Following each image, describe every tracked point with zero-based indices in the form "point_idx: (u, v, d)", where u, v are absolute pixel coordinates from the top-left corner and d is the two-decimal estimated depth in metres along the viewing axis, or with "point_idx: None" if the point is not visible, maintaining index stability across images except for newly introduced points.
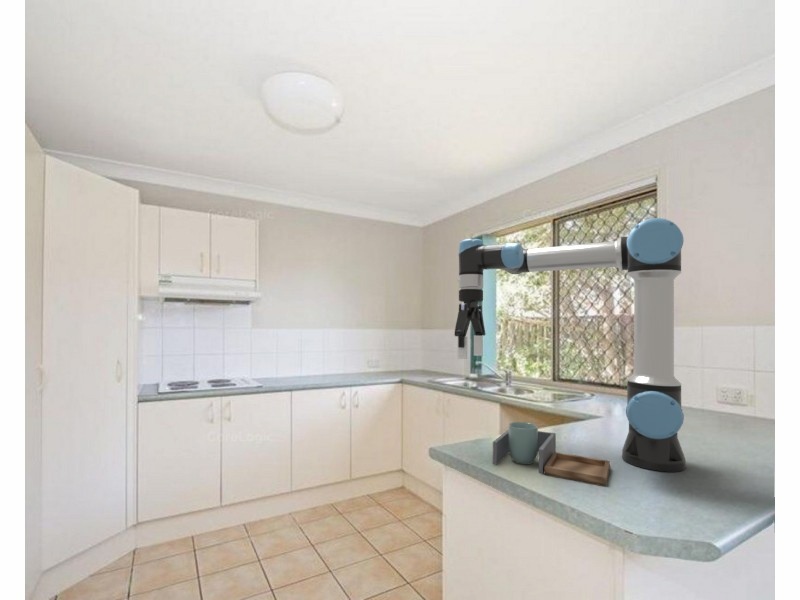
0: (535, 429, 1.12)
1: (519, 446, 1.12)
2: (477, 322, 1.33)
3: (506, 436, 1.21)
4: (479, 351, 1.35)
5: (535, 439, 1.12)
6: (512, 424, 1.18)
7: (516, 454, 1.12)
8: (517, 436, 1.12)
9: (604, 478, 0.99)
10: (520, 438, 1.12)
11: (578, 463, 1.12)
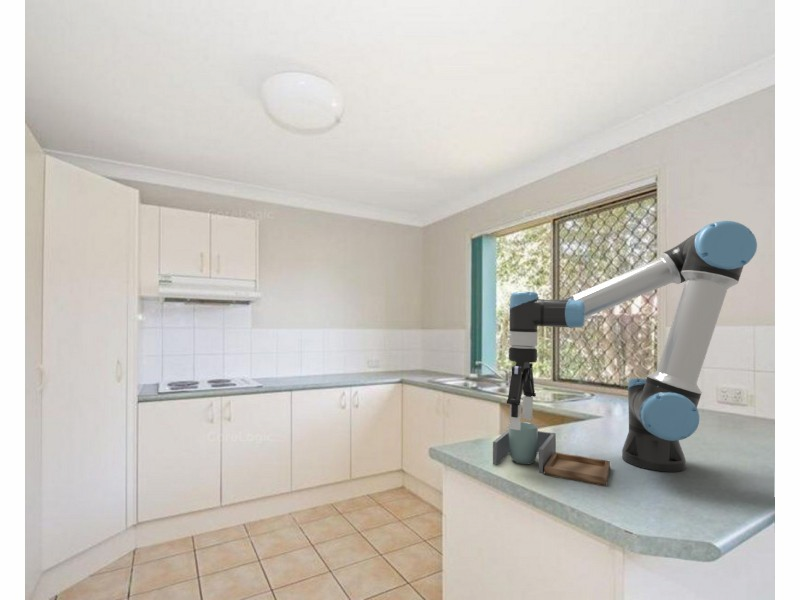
0: (535, 429, 1.12)
1: (519, 446, 1.12)
2: (528, 383, 1.19)
3: (506, 436, 1.21)
4: (529, 414, 1.21)
5: (535, 439, 1.12)
6: None
7: (516, 454, 1.12)
8: (517, 436, 1.12)
9: (604, 478, 0.99)
10: (520, 438, 1.12)
11: (578, 463, 1.12)
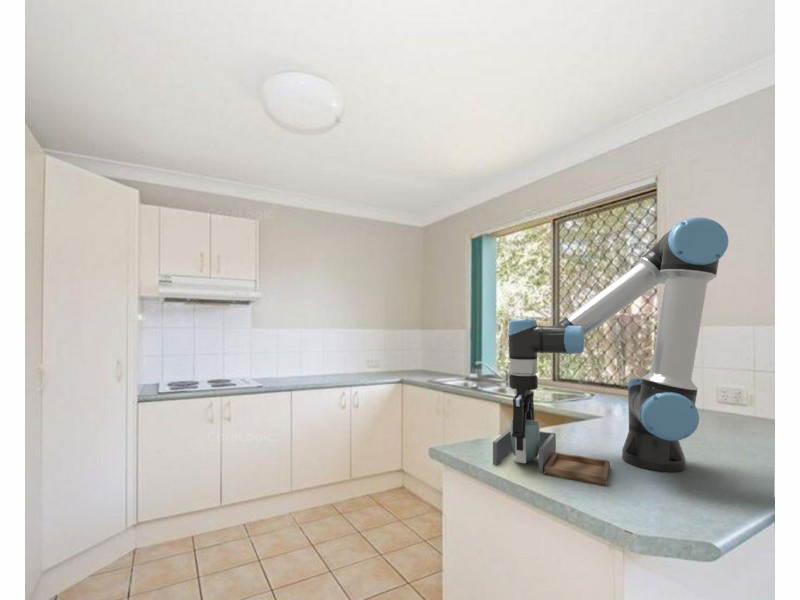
0: (536, 426, 1.12)
1: None
2: (529, 412, 1.17)
3: (506, 436, 1.21)
4: None
5: (537, 435, 1.12)
6: None
7: None
8: None
9: (604, 478, 0.99)
10: None
11: (578, 463, 1.12)
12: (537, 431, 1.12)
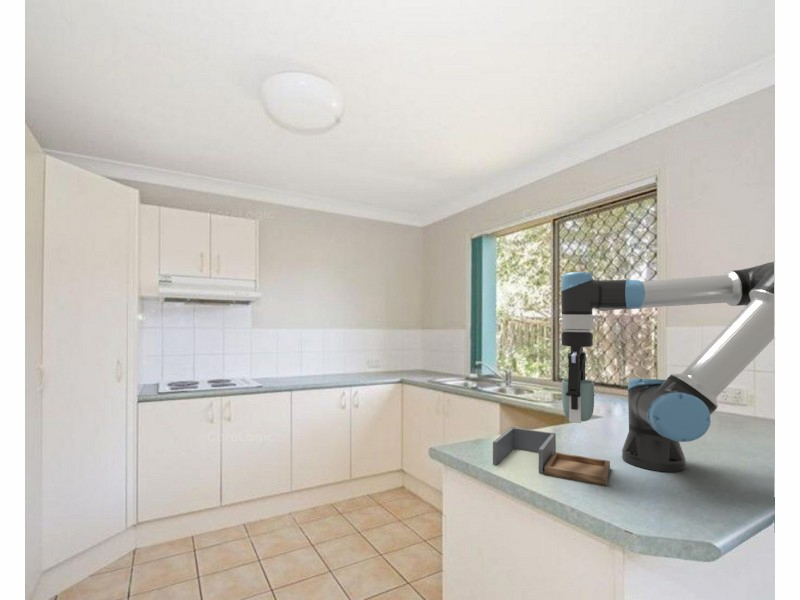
0: (592, 384, 1.06)
1: None
2: (581, 372, 1.11)
3: (506, 436, 1.21)
4: None
5: (592, 394, 1.06)
6: (565, 381, 1.12)
7: None
8: None
9: (604, 478, 0.99)
10: None
11: (578, 463, 1.12)
12: (592, 390, 1.06)
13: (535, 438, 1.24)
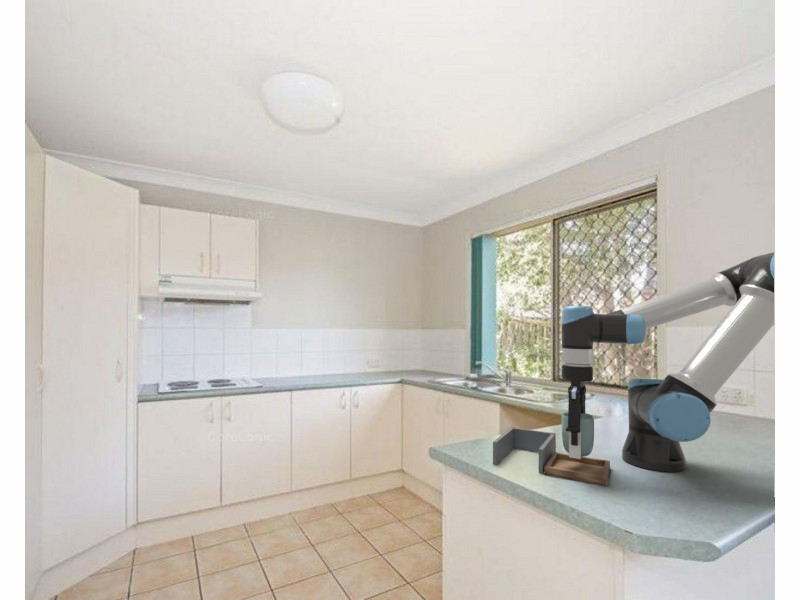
0: (592, 420, 1.06)
1: None
2: (581, 406, 1.11)
3: (506, 436, 1.21)
4: None
5: (592, 430, 1.05)
6: (565, 414, 1.11)
7: None
8: None
9: (604, 478, 0.99)
10: None
11: (578, 463, 1.12)
12: (592, 425, 1.06)
13: (535, 438, 1.24)
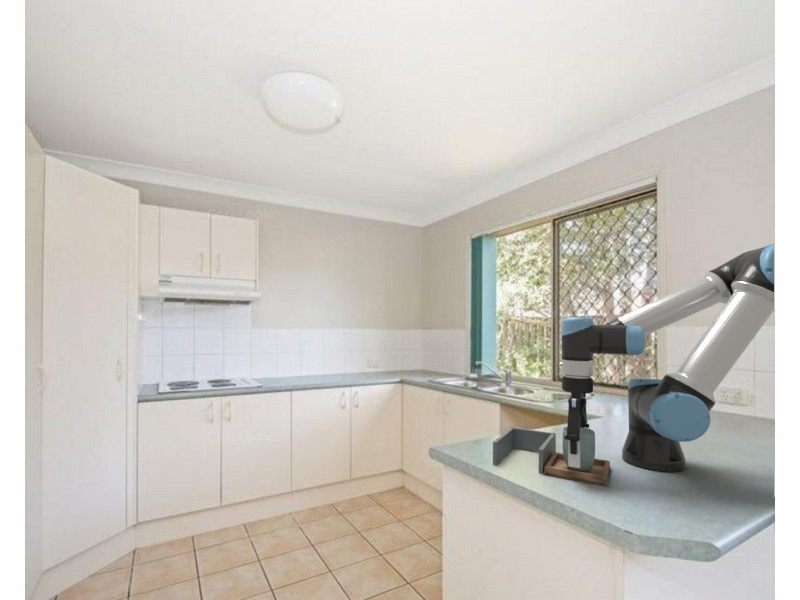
0: (593, 435, 1.05)
1: None
2: (582, 414, 1.12)
3: (506, 436, 1.21)
4: None
5: (593, 445, 1.05)
6: (566, 429, 1.11)
7: None
8: None
9: (604, 478, 0.99)
10: None
11: None
12: (593, 440, 1.05)
13: (535, 438, 1.24)
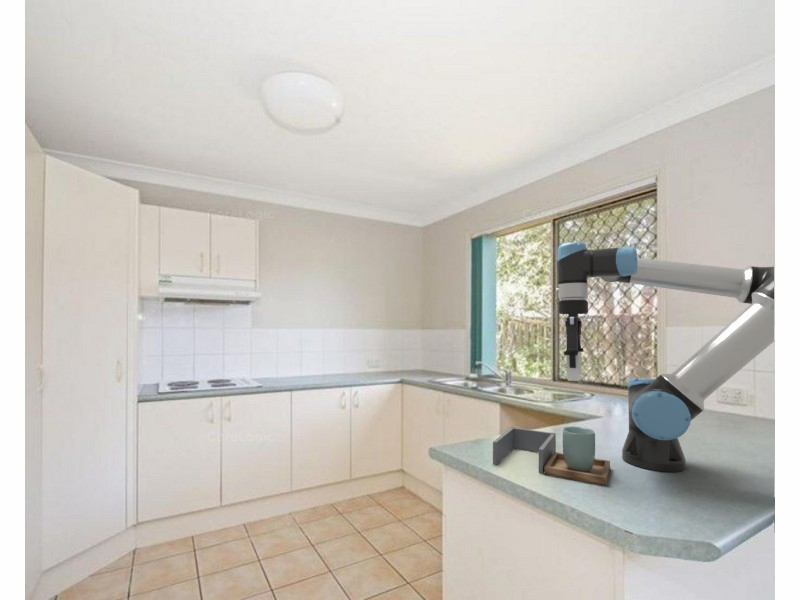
0: (593, 435, 1.05)
1: (576, 453, 1.05)
2: (577, 337, 1.17)
3: (506, 436, 1.21)
4: (579, 369, 1.19)
5: (593, 445, 1.05)
6: (566, 429, 1.11)
7: (573, 462, 1.05)
8: (574, 442, 1.05)
9: (604, 478, 0.99)
10: (577, 444, 1.05)
11: None
12: (593, 441, 1.05)
13: (535, 438, 1.24)
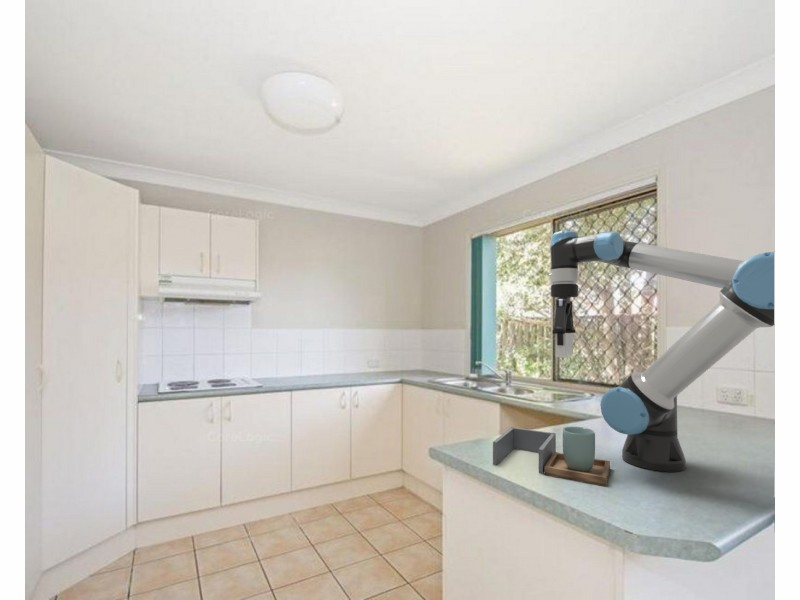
0: (593, 435, 1.05)
1: (576, 453, 1.05)
2: (569, 319, 1.27)
3: (506, 436, 1.21)
4: (570, 349, 1.28)
5: (593, 445, 1.05)
6: (566, 429, 1.11)
7: (573, 462, 1.05)
8: (574, 442, 1.05)
9: (604, 478, 0.99)
10: (577, 444, 1.05)
11: None
12: (593, 440, 1.05)
13: (535, 438, 1.24)
